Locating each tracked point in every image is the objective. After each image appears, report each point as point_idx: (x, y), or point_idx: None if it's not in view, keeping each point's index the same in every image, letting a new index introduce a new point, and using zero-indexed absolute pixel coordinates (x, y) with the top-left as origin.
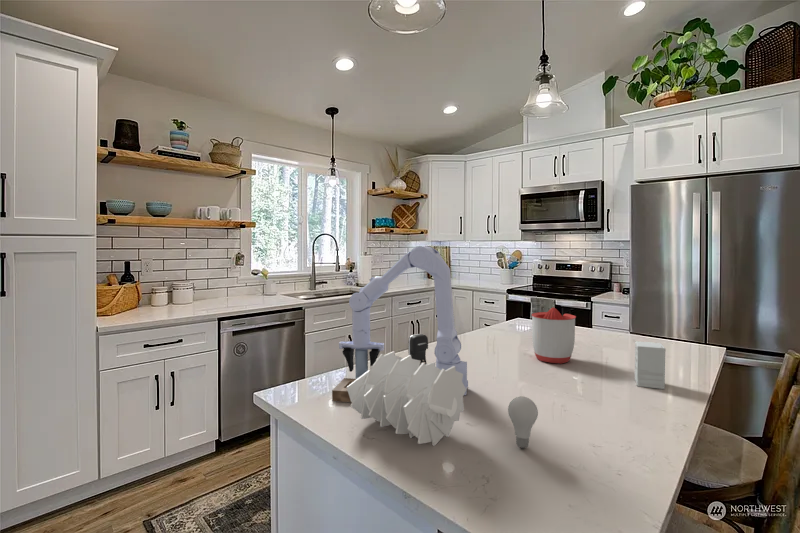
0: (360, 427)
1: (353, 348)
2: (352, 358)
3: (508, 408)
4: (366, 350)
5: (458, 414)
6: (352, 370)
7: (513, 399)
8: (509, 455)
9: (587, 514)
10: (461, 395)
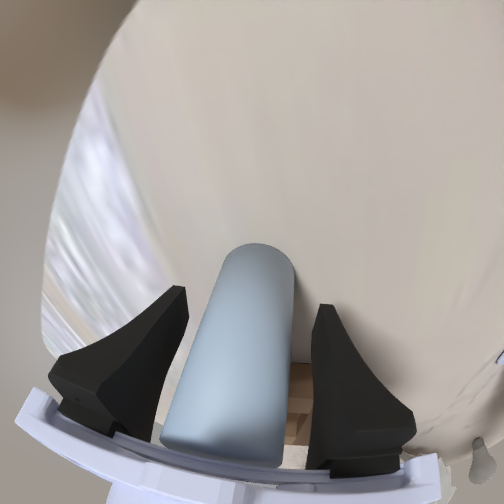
0: (306, 456)
1: (144, 447)
2: (151, 351)
3: (472, 476)
4: (274, 467)
5: (441, 465)
6: (186, 303)
7: (478, 481)
8: (456, 448)
9: (450, 463)
10: (445, 488)
